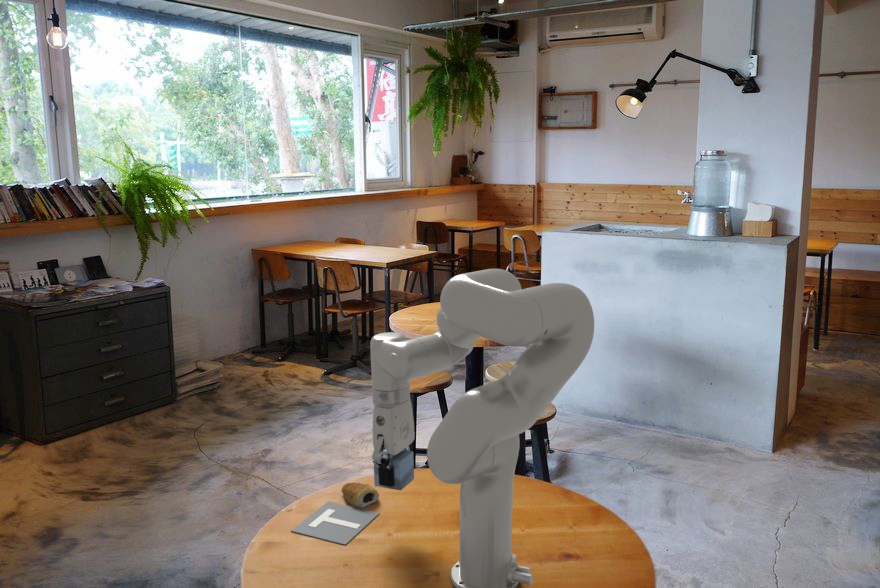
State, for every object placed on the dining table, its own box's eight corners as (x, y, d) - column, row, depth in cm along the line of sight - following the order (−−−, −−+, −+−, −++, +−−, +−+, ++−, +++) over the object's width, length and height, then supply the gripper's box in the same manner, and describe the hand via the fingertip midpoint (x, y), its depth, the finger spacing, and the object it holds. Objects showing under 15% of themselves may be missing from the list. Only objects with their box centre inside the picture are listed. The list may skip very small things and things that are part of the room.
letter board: (379, 513, 165) (379, 512, 164) (345, 545, 152) (345, 543, 152) (327, 502, 170) (327, 500, 170) (291, 531, 157) (291, 530, 157)
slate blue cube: (414, 478, 158) (413, 451, 157) (400, 490, 153) (399, 462, 152) (388, 474, 161) (387, 447, 159) (374, 485, 155) (373, 458, 154)
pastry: (334, 495, 173) (333, 480, 173) (358, 487, 178) (358, 472, 177) (357, 511, 166) (357, 494, 166) (382, 502, 171) (382, 486, 170)
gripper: (387, 409, 144) (391, 499, 147) (426, 384, 159) (428, 465, 163) (352, 405, 147) (357, 493, 150) (394, 380, 163) (397, 460, 166)
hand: (394, 478), depth 156 cm, fingers closed on slate blue cube, 6 cm apart
